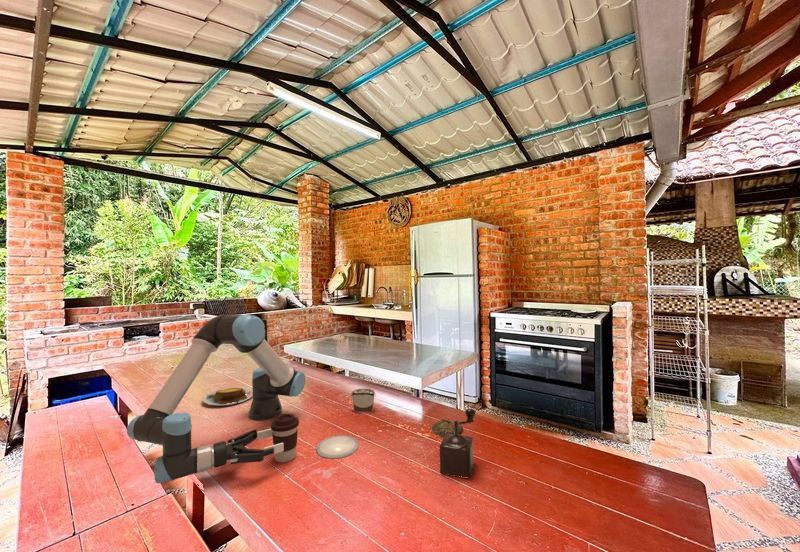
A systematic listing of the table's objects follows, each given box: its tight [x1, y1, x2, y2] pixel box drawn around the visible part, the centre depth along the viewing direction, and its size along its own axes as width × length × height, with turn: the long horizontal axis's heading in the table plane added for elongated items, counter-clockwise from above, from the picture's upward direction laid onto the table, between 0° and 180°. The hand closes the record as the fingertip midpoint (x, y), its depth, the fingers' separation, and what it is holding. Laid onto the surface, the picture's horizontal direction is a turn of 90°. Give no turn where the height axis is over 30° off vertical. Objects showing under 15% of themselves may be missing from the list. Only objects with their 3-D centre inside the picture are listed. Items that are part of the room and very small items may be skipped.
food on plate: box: [202, 386, 253, 407], centre depth 180 cm, size 25×25×7 cm
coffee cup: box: [270, 413, 300, 463], centre depth 121 cm, size 10×10×15 cm
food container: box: [350, 387, 376, 413], centre depth 164 cm, size 12×6×10 cm, turn 84°
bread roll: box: [431, 418, 463, 439], centre depth 140 cm, size 13×12×5 cm
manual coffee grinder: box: [439, 408, 477, 478], centre depth 115 cm, size 16×11×18 cm
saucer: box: [316, 435, 359, 460], centre depth 128 cm, size 16×16×1 cm
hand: (279, 438), depth 119 cm, fingers open, 13 cm apart
